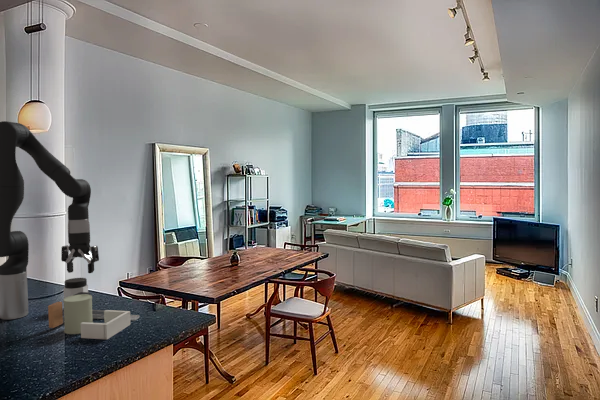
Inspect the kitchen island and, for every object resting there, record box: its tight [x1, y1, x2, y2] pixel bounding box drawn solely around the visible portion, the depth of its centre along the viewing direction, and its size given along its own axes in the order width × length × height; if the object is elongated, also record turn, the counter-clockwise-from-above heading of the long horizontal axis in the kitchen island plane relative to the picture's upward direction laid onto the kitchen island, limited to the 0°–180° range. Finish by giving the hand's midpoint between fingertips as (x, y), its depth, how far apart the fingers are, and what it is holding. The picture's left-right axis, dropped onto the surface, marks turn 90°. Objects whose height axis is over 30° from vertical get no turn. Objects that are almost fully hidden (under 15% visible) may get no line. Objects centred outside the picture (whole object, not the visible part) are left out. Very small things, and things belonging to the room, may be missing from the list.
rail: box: [92, 314, 140, 322], centre depth 164 cm, size 26×3×1 cm, turn 81°
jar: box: [63, 277, 89, 299], centre depth 176 cm, size 9×8×12 cm
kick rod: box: [47, 291, 106, 329], centre depth 158 cm, size 12×18×8 cm
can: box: [62, 294, 94, 335], centre depth 152 cm, size 9×9×12 cm
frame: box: [80, 309, 131, 340], centre depth 150 cm, size 10×14×5 cm, turn 171°
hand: (80, 272), depth 165 cm, fingers open, 8 cm apart
